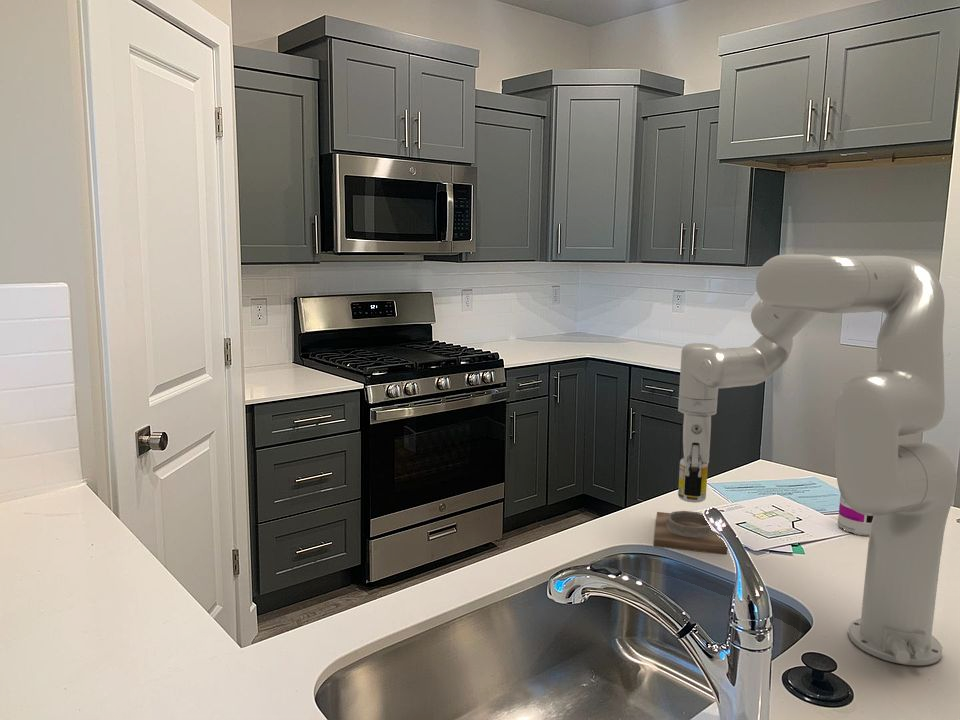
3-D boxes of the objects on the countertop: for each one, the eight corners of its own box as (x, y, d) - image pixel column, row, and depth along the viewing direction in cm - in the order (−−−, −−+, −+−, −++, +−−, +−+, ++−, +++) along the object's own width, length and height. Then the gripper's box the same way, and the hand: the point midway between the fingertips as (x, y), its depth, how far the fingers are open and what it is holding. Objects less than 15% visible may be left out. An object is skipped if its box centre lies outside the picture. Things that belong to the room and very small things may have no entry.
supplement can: (842, 534, 160) (848, 465, 157) (834, 520, 168) (840, 455, 165) (884, 538, 158) (891, 469, 156) (874, 524, 166) (881, 458, 163)
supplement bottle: (711, 499, 157) (714, 451, 155) (695, 505, 153) (698, 456, 152) (688, 492, 161) (691, 445, 159) (672, 497, 158) (675, 450, 156)
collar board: (726, 554, 149) (728, 537, 148) (653, 546, 152) (654, 529, 152) (723, 525, 164) (724, 509, 164) (656, 518, 168) (657, 503, 167)
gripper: (718, 415, 145) (712, 506, 148) (715, 397, 161) (709, 479, 164) (678, 412, 147) (672, 502, 150) (678, 395, 163) (674, 476, 166)
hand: (692, 489), depth 157 cm, fingers closed on supplement bottle, 5 cm apart
